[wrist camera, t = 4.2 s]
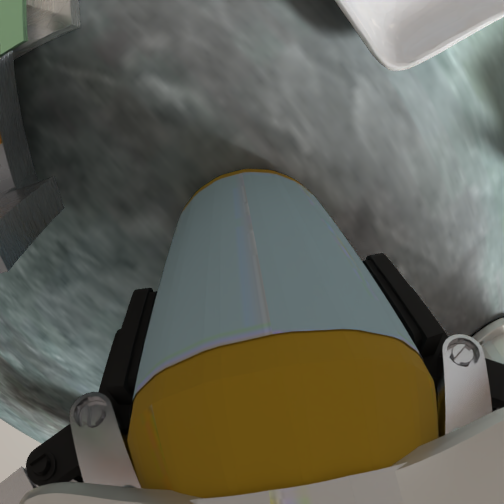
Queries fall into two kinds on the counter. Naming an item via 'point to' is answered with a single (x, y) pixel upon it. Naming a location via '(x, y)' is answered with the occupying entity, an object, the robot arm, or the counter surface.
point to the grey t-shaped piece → (19, 178)
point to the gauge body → (35, 23)
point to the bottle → (274, 359)
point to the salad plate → (417, 26)
